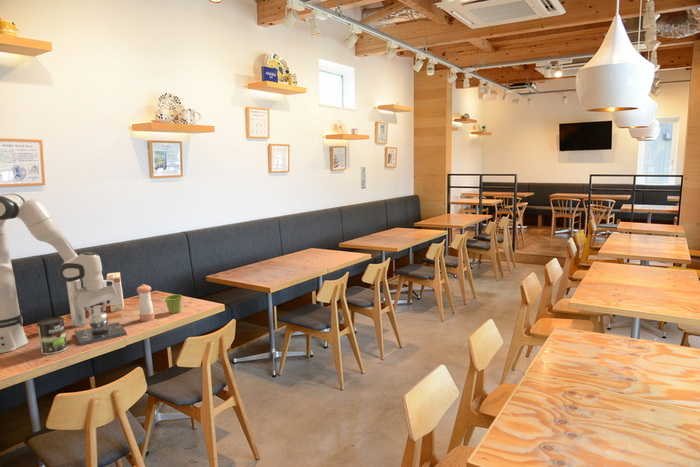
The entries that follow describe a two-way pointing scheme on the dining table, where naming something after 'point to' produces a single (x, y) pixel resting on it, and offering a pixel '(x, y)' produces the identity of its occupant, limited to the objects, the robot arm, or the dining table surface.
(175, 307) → the plant pot
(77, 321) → the thermos flask
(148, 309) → the pepper shaker
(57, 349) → the coffee can
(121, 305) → the coffeecake box
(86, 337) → the post plate
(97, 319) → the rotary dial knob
